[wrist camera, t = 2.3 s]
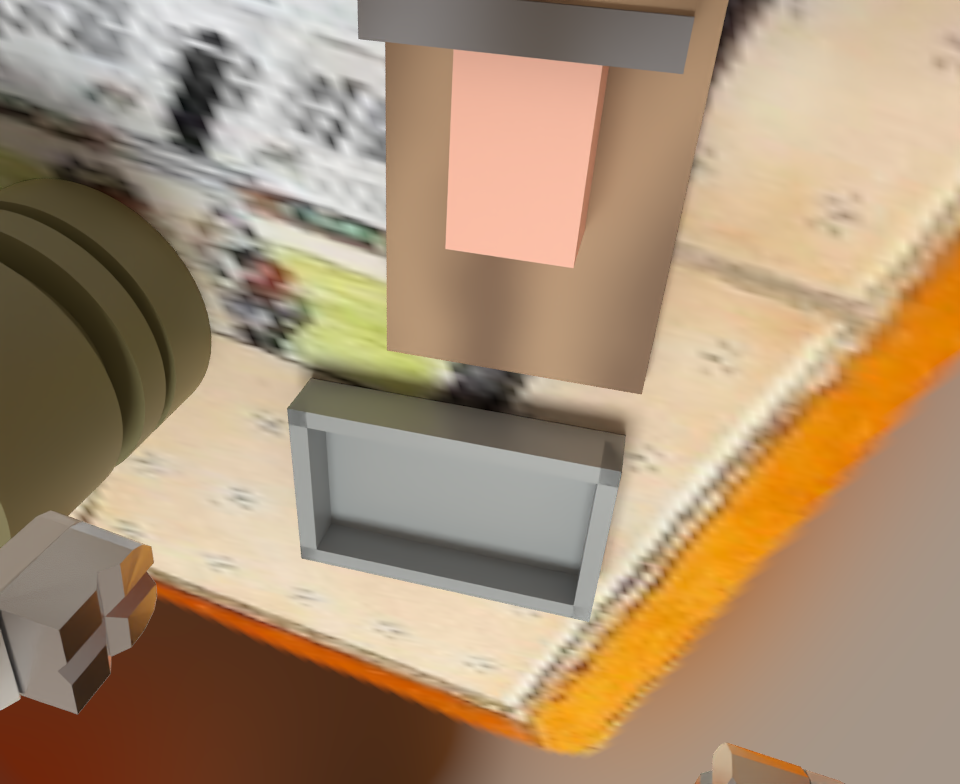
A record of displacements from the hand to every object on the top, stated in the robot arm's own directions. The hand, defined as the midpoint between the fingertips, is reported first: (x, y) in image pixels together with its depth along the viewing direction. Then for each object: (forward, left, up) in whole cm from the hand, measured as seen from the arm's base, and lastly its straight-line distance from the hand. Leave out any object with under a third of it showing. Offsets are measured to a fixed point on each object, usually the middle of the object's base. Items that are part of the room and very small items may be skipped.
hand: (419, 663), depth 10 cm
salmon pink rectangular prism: (-2, +5, -18) cm, 19 cm away
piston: (-21, -7, -19) cm, 29 cm away
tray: (-4, -13, -19) cm, 24 cm away
